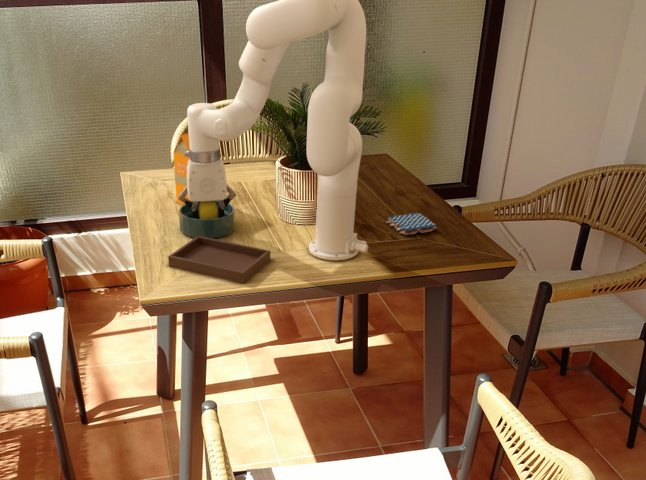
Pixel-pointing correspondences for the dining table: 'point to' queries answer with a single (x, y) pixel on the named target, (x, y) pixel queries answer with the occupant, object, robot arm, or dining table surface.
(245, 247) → the tray
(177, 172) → the orange juice
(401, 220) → the woven mat
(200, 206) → the lemon
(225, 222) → the bowl
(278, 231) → the dining table surface
